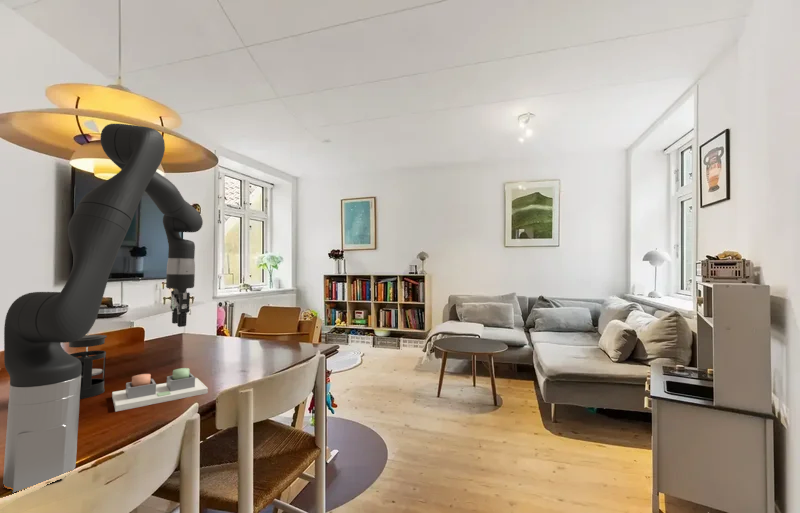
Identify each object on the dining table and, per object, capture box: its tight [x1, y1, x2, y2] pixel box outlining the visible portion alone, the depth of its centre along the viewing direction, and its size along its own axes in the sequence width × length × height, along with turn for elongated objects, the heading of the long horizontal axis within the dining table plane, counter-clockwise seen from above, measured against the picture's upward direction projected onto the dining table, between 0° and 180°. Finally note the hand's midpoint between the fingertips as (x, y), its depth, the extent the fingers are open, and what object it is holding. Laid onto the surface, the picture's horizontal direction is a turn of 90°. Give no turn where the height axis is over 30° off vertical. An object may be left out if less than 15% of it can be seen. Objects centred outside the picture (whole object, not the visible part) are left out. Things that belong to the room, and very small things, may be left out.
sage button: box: [172, 367, 190, 380], centre depth 108 cm, size 4×4×3 cm
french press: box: [68, 317, 108, 400], centre depth 104 cm, size 12×9×23 cm
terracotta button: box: [131, 373, 152, 387], centre depth 101 cm, size 4×4×3 cm
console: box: [111, 372, 209, 413], centre depth 104 cm, size 14×22×4 cm, turn 133°
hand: (178, 324), depth 109 cm, fingers open, 8 cm apart
